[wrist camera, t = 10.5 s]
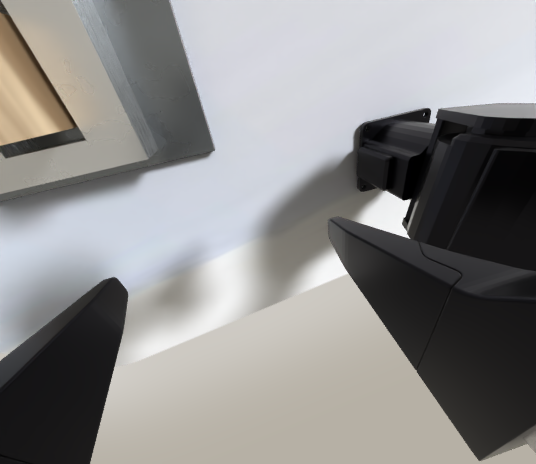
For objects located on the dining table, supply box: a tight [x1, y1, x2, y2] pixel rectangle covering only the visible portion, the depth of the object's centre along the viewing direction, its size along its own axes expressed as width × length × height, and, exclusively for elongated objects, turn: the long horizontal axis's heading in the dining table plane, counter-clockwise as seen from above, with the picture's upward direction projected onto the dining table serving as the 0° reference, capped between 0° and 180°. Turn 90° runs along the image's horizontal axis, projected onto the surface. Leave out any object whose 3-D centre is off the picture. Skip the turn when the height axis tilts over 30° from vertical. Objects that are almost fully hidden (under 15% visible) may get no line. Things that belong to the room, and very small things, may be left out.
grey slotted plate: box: [0, 0, 215, 202], centre depth 12 cm, size 18×12×4 cm, turn 101°
